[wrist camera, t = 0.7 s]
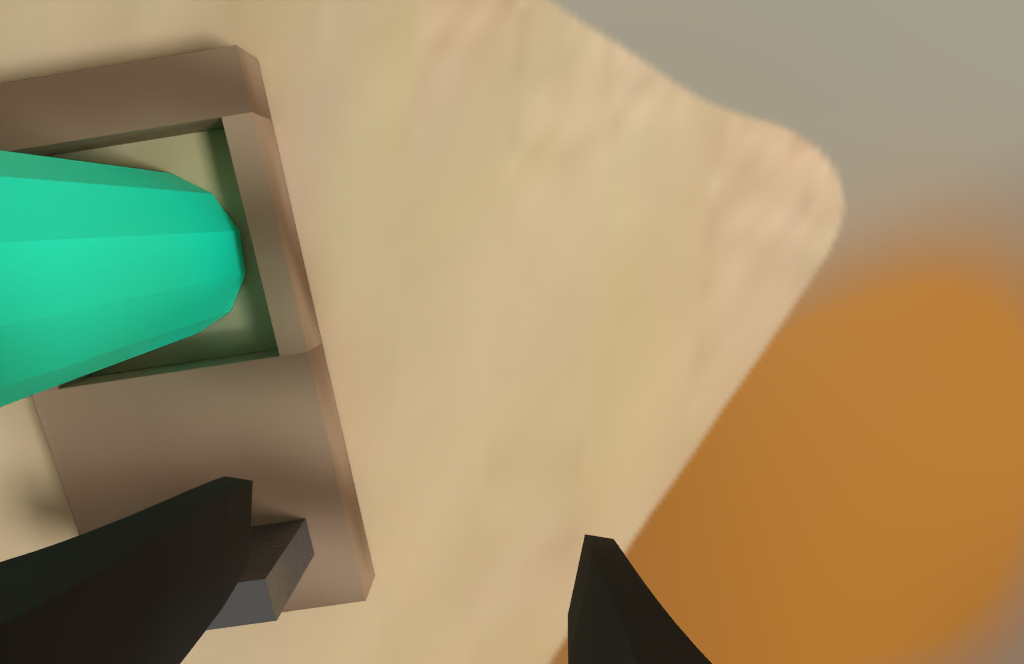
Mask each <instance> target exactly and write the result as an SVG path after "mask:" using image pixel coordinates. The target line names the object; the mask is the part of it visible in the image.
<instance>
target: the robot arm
mask: <svg viewBox="0 0 1024 664" xmlns="http://www.w3.org/2000/svg"><path fill="white" fill-rule="evenodd" d="M252 488H253V481H252V480H246V479H240V478H234V477H227V476H224V477H221V478H218V479H215V480H212V481H210V482H207V483H205V484H202V485H200V486H198V487H195V488H193V489H190V490H188V491H186V492H184V493H181V494H179V495H177V496H174V497H172V498H170V499H167V500H165V501H163V502H160V503H158V504H156V505H153V506H151V507H149V508H146V509H144V510H142V511H139V512H137V513H135V514H132V515H130V516H128V517H125V518H123V519H120V520H117V521H115V522H112V523H110V524H107V525H105V526H102V527H100V528H97V529H94V530H92V531H89V532H87V533H84V534H82V535H79V536H77V537H74V538H71V539H69V540H66V541H63V542H60V543H58V544H55V545H52V546H49V547H46V548H43V549H40V550H37V551H34V552H31V553H28V554H25V555H22V556H18V557H15V558H12V559H9V560H6V561H3V562H0V664H180V663H181V662H182V661H183V659H184V658H185V657H186V655H187V654H188V653H189V652H190V650H191V649H192V648H193V646H194V645H195V644H196V642H197V641H198V640H199V639H200V637H201V636H202V635H203V633H204V632H205V631H206V629H207V628H208V627H209V625H210V624H211V623H212V621H213V620H214V619H215V618H216V616H217V615H218V613H219V612H220V611H221V609H222V608H223V607H224V605H225V603H226V602H227V600H228V598H229V597H230V595H231V594H232V592H233V590H234V589H235V587H236V585H237V583H238V582H239V580H240V578H241V576H242V575H243V573H244V571H245V569H246V568H247V566H248V564H249V554H250V532H251V510H252ZM568 663H569V664H712V663H711V662H710V661H709V660H708V659H707V658H706V657H705V656H704V655H703V654H702V653H701V652H700V650H699V649H698V648H697V647H696V646H695V645H694V644H693V643H692V642H691V640H690V639H689V638H688V637H687V636H686V635H685V633H684V632H683V631H682V630H681V629H680V628H679V626H678V625H677V624H676V623H675V622H674V620H673V619H672V618H671V617H670V616H669V615H668V613H667V612H666V611H665V609H664V608H663V607H662V606H661V604H660V603H659V602H658V600H657V599H656V598H655V596H654V595H653V594H652V592H651V591H650V590H649V589H648V587H647V586H646V584H645V583H644V582H643V581H642V579H641V577H640V576H639V575H638V573H637V572H636V570H635V569H634V568H633V566H632V565H631V564H630V562H629V560H628V559H627V558H626V556H625V555H624V553H623V552H622V550H621V549H620V548H619V546H618V545H617V543H616V542H615V541H614V539H610V538H604V537H598V536H591V535H585V537H584V542H583V547H582V552H581V556H580V561H579V566H578V570H577V575H576V580H575V584H574V589H573V594H572V598H571V603H570V608H569V612H568Z"/></svg>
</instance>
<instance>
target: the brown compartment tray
mask: <svg viewBox="0 0 1024 664" xmlns="http://www.w3.org/2000/svg"><path fill="white" fill-rule="evenodd" d="M220 128H224V130H225V134H226V138H227V142H228V146H229V150H230V154H231V158H232V162H233V167H234V171H235V175H236V179H237V183H238V187H239V191H240V195H241V199H242V203H243V207H244V212H245V216H246V220H247V224H248V228H249V232H250V236H251V240H252V244H253V248H254V253H255V257H256V261H257V265H258V269H259V273H260V277H261V281H262V285H263V289H264V294H265V298H266V302H267V306H268V310H269V314H270V318H271V322H272V326H273V330H274V335H275V339H276V343H277V347H278V349H275V350H268V351H262V352H255V353H248V354H242V355H235V356H228V357H222V358H215V359H208V360H202V361H195V362H188V363H181V364H175V365H168V366H161V367H155V368H148V369H141V370H135V371H128V372H121V373H115V374H108V375H101V376H95V377H90V376H89V374H87V375H85V376H82V377H79V378H77V379H74V380H71V381H69V382H66V383H63V384H60V385H58V386H55V387H52V388H50V389H47V390H44V391H42V392H39V393H36V394H34V395H32V398H33V401H34V404H35V407H36V410H37V412H38V415H39V418H40V421H41V424H42V427H43V430H44V433H45V436H46V439H47V442H48V444H49V447H50V450H51V453H52V456H53V459H54V462H55V465H56V468H57V471H58V474H59V476H60V479H61V482H62V485H63V488H64V491H65V494H66V497H67V500H68V503H69V506H70V508H71V511H72V514H73V517H74V520H75V523H76V526H77V529H78V532H79V535H82V534H84V533H87V532H89V531H92V530H94V529H97V528H100V527H102V526H105V525H107V524H110V523H112V522H115V521H117V520H120V519H123V518H125V517H128V516H130V515H132V514H135V513H137V512H139V511H142V510H144V509H146V508H149V507H151V506H153V505H156V504H158V503H160V502H163V501H165V500H167V499H170V498H172V497H174V496H177V495H179V494H181V493H184V492H186V491H188V490H190V489H193V488H195V487H198V486H200V485H202V484H205V483H207V482H210V481H212V480H215V479H218V478H221V477H224V476H227V477H234V478H240V479H246V480H252V481H253V488H252V510H251V532H250V554H249V564H248V566H247V568H246V569H245V571H244V573H243V575H242V576H241V578H240V580H239V582H238V583H237V585H236V587H235V589H234V590H233V592H232V594H231V595H230V597H229V598H228V600H227V602H226V603H225V605H224V607H223V608H222V609H221V611H220V612H219V613H218V615H217V616H216V618H215V619H214V620H213V621H212V623H211V624H210V625H209V627H208V628H207V629H206V630H211V629H218V628H226V627H233V626H240V625H247V624H255V623H262V622H269V621H276V620H277V619H278V617H279V616H280V614H281V612H287V611H294V610H301V609H309V608H316V607H323V606H330V605H337V604H345V603H352V602H359V601H366V598H367V596H368V593H369V590H370V588H371V585H372V582H373V580H374V577H375V574H374V570H373V565H372V561H371V557H370V552H369V548H368V543H367V539H366V535H365V530H364V526H363V521H362V517H361V513H360V508H359V504H358V499H357V495H356V491H355V486H354V482H353V477H352V473H351V468H350V464H349V460H348V455H347V451H346V446H345V442H344V438H343V433H342V429H341V424H340V420H339V416H338V411H337V407H336V402H335V398H334V393H333V389H332V385H331V380H330V376H329V371H328V367H327V363H326V358H325V354H324V349H323V345H322V341H321V336H320V332H319V327H318V323H317V318H316V314H315V310H314V305H313V301H312V296H311V292H310V288H309V283H308V279H307V274H306V270H305V266H304V261H303V257H302V252H301V248H300V243H299V239H298V235H297V230H296V226H295V221H294V217H293V213H292V208H291V204H290V199H289V195H288V191H287V186H286V182H285V177H284V173H283V168H282V164H281V160H280V155H279V151H278V146H277V142H276V138H275V133H274V129H273V124H272V120H271V116H270V111H269V107H268V102H267V98H266V93H265V89H264V85H263V80H262V76H261V71H260V67H259V63H258V59H257V58H256V57H254V56H253V55H251V54H249V53H248V52H246V51H245V50H243V49H242V48H240V47H238V46H237V45H234V46H228V47H222V48H216V49H210V50H204V51H198V52H191V53H185V54H179V55H173V56H167V57H161V58H155V59H149V60H142V61H136V62H130V63H124V64H118V65H112V66H106V67H100V68H93V69H87V70H81V71H75V72H69V73H63V74H57V75H51V76H44V77H38V78H32V79H26V80H20V81H14V82H8V83H2V84H0V150H1V151H8V152H16V153H24V154H31V155H39V156H51V155H57V154H63V153H70V152H76V151H82V150H89V149H95V148H101V147H107V146H114V145H120V144H126V143H132V142H139V141H145V140H151V139H157V138H164V137H170V136H176V135H182V134H189V133H195V132H201V131H208V130H214V129H220Z"/></svg>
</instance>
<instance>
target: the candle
mask: <svg viewBox="0 0 1024 664" xmlns="http://www.w3.org/2000/svg"><path fill="white" fill-rule="evenodd" d="M245 275H246V270H245V263H244V256H243V250H242V243H241V236H240V231H239V229H238V228H237V227H236V225H235V224H234V222H233V221H232V220H231V218H230V217H229V216H228V214H227V213H226V212H225V210H224V209H223V208H222V206H221V205H220V203H219V202H218V201H217V199H216V198H215V197H214V195H213V194H212V193H210V192H208V191H206V190H204V189H202V188H200V187H198V186H196V185H194V184H192V183H190V182H188V181H186V180H184V179H182V178H180V177H178V176H176V175H174V174H172V173H166V172H159V171H151V170H144V169H136V168H129V167H121V166H114V165H106V164H99V163H91V162H84V161H76V160H69V159H61V158H54V157H46V156H39V155H31V154H24V153H16V152H8V151H1V150H0V407H1V406H4V405H7V404H9V403H12V402H15V401H17V400H20V399H23V398H26V397H28V396H31V395H34V394H36V393H39V392H42V391H44V390H47V389H50V388H52V387H55V386H58V385H60V384H63V383H66V382H69V381H71V380H74V379H77V378H79V377H82V376H85V375H87V374H90V373H93V372H95V371H98V370H101V369H103V368H106V367H109V366H111V365H114V364H117V363H120V362H122V361H125V360H128V359H130V358H133V357H136V356H138V355H141V354H144V353H146V352H149V351H152V350H154V349H157V348H160V347H163V346H165V345H168V344H171V343H173V342H176V341H179V340H181V339H184V338H187V337H189V336H192V335H195V334H197V333H199V332H201V331H202V330H204V329H205V328H207V327H208V326H209V325H211V324H212V323H214V322H215V321H217V320H218V319H220V318H221V317H223V316H224V315H226V314H227V313H228V312H230V311H231V309H232V307H233V304H234V302H235V299H236V297H237V295H238V292H239V290H240V287H241V285H242V282H243V280H244V278H245Z"/></svg>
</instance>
